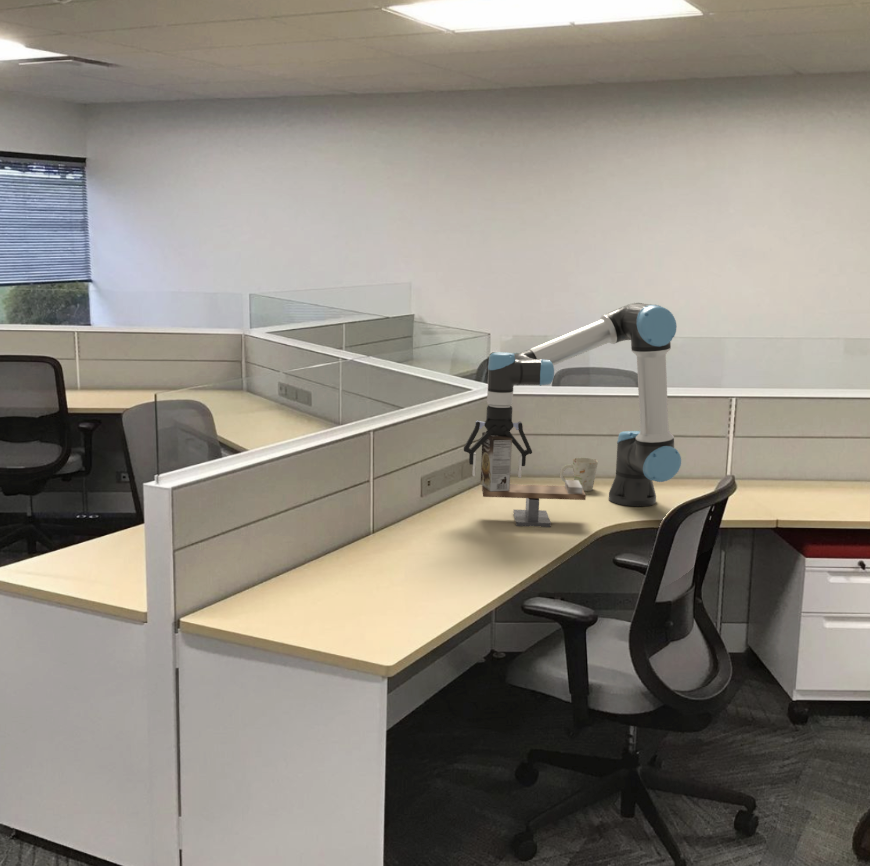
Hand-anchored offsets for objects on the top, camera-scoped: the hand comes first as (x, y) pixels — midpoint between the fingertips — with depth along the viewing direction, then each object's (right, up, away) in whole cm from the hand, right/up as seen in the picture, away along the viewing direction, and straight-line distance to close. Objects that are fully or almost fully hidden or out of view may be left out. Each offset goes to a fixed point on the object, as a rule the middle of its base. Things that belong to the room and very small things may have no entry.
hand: (496, 476), depth 298 cm
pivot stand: (+11, -13, +2) cm, 17 cm away
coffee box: (0, -4, +1) cm, 4 cm away
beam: (+11, -5, +1) cm, 12 cm away
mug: (+30, -6, +43) cm, 53 cm away
